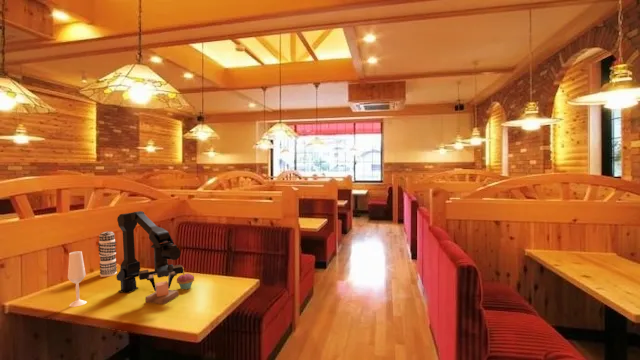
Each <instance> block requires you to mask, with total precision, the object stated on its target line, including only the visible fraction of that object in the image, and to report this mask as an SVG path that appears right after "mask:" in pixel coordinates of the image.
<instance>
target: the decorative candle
mask: <svg viewBox="0 0 640 360" xmlns="http://www.w3.org/2000/svg"><path fill="white" fill-rule="evenodd" d="M98 237H99V241H98V243H97V245H98V252H99V253H98V256H99V258H100V260H99V275H100V276H99V277H101V278H102V277H106V278H107V277H111V276H115V275H117V274H118V272H117V258H116V254H117V247H116V246H117V242H116V239H115V237H116V236H115V233H114V232H113V231H112V230H111V231H103V232H101V233H100V234H99V235H98Z"/></svg>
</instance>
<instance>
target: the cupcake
mask: <svg viewBox="0 0 640 360" xmlns="http://www.w3.org/2000/svg"><path fill="white" fill-rule="evenodd" d="M181 266H182V267H183V273H182V274H181V275H179V276H178V277H177V278H176V283H177V284H178V285H179V287H180V289H181V290H182V289H186V290H190V289H192V285H193V282H194V281H195V275H193V274H190V273H185V268H184V266H183V265H181Z"/></svg>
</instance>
